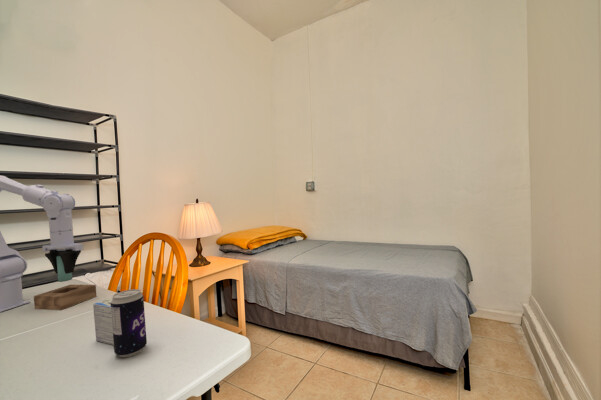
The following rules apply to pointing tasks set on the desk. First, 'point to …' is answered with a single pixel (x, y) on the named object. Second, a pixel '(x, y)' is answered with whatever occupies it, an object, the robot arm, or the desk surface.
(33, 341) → the desk surface
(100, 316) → the medicine box
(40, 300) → the walnut socket block
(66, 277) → the teal peg
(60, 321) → the desk surface
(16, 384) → the desk surface
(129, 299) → the beverage can
